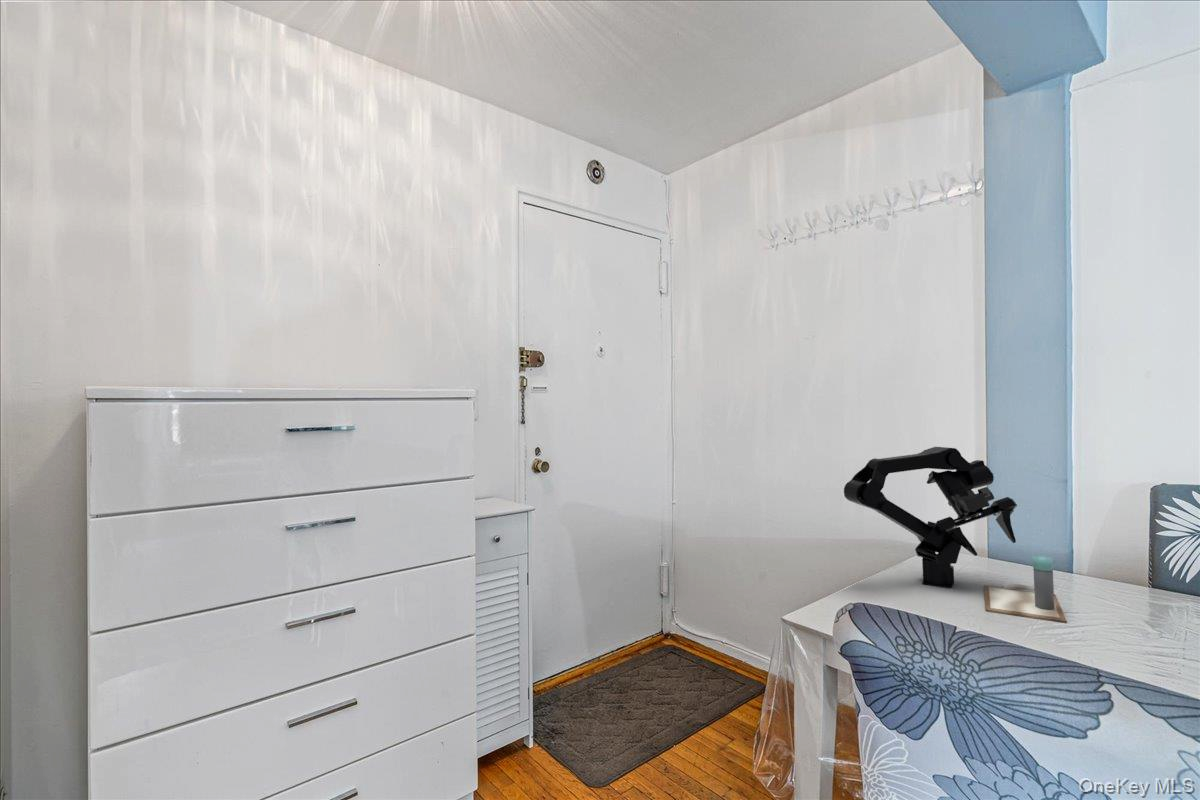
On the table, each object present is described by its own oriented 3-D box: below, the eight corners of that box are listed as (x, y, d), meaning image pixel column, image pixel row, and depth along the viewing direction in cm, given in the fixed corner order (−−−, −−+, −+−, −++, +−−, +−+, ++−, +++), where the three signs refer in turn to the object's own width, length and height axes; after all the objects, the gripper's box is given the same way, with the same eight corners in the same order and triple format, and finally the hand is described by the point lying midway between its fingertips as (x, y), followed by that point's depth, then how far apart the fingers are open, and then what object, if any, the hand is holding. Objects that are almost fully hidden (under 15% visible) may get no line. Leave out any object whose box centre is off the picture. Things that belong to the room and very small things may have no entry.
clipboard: (985, 611, 122) (985, 603, 122) (983, 586, 139) (983, 580, 139) (1066, 623, 114) (1066, 615, 114) (1055, 595, 131) (1054, 588, 131)
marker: (1035, 608, 122) (1033, 558, 122) (1034, 603, 124) (1032, 555, 125) (1055, 611, 120) (1053, 560, 120) (1054, 606, 122) (1051, 557, 123)
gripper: (925, 494, 137) (964, 553, 128) (1001, 468, 135) (1045, 526, 126) (919, 508, 146) (954, 564, 137) (990, 484, 144) (1030, 539, 135)
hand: (995, 549), depth 133 cm, fingers open, 9 cm apart
